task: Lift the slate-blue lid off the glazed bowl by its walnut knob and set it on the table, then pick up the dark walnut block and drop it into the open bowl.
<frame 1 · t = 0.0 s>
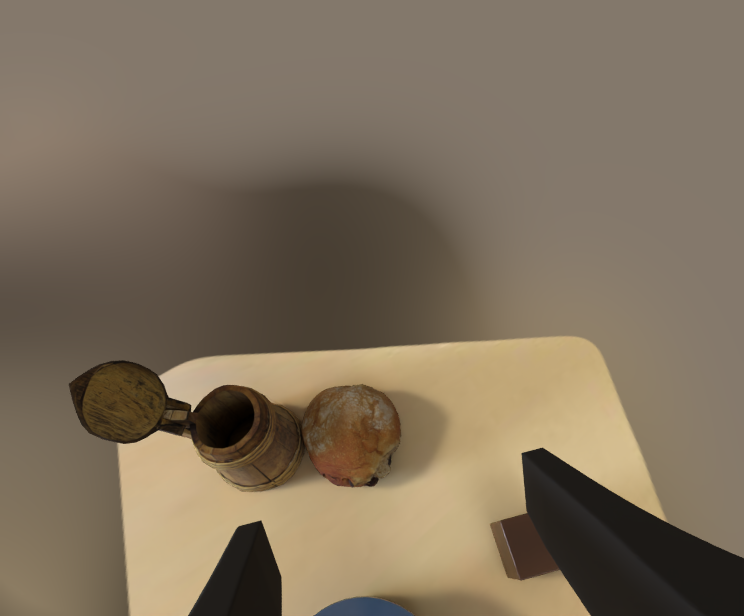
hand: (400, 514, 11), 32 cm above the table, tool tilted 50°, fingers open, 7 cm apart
block: (521, 543, 38), on the table
wooden mug: (242, 446, 44), on the table
bread roll: (354, 438, 44), on the table
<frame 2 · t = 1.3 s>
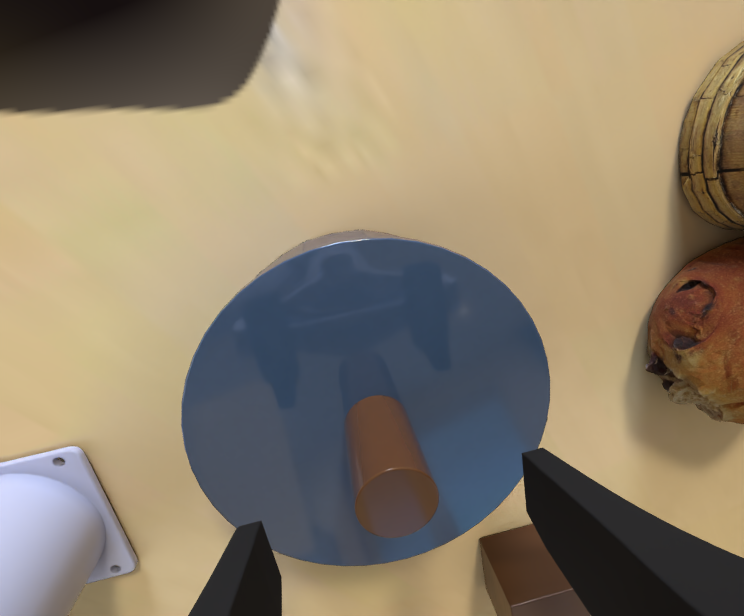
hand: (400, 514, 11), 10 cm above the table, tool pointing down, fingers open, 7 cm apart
block: (515, 554, 27), on the table
bread roll: (714, 321, 24), on the table
bowl lid: (374, 416, 16), point 5 cm above the table, touching bowl
bowl: (358, 356, 21), on the table
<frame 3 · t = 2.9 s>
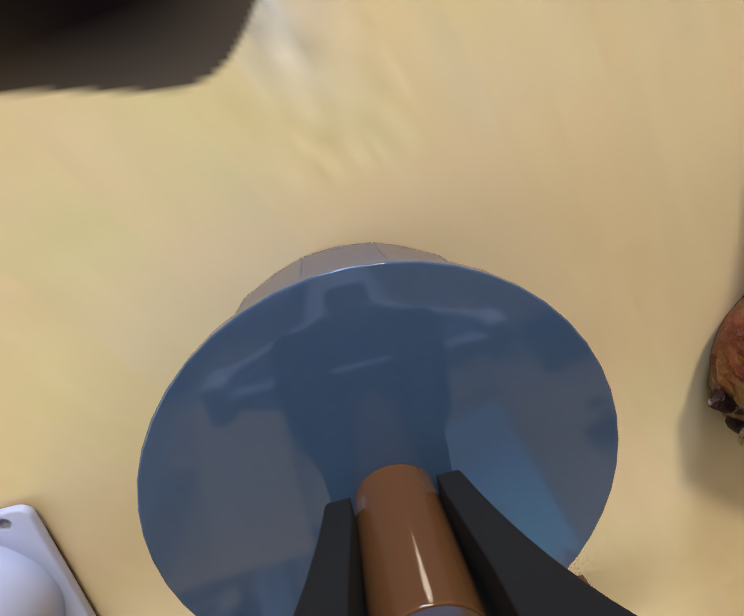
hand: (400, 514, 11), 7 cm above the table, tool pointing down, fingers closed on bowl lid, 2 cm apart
bowl lid: (392, 486, 12), point 5 cm above the table, touching bowl, gripper
bowl: (368, 393, 17), on the table
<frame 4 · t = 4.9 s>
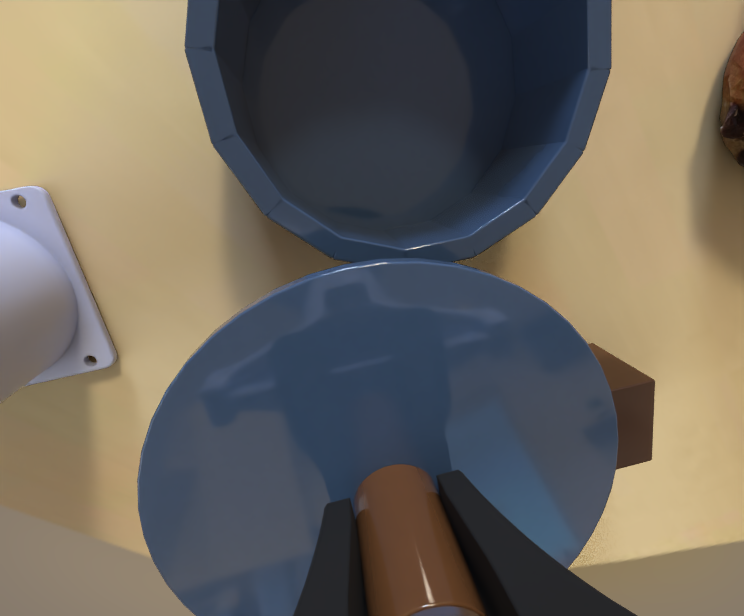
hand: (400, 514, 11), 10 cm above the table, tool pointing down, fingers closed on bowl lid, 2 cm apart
block: (556, 386, 23), on the table
bowl lid: (392, 486, 12), point 9 cm above the table, touching gripper
bowl: (382, 93, 17), on the table
when the fingers open (2 cm above the table, at t = 7.3 s): bowl lid stays where it is, point 1 cm above the table.
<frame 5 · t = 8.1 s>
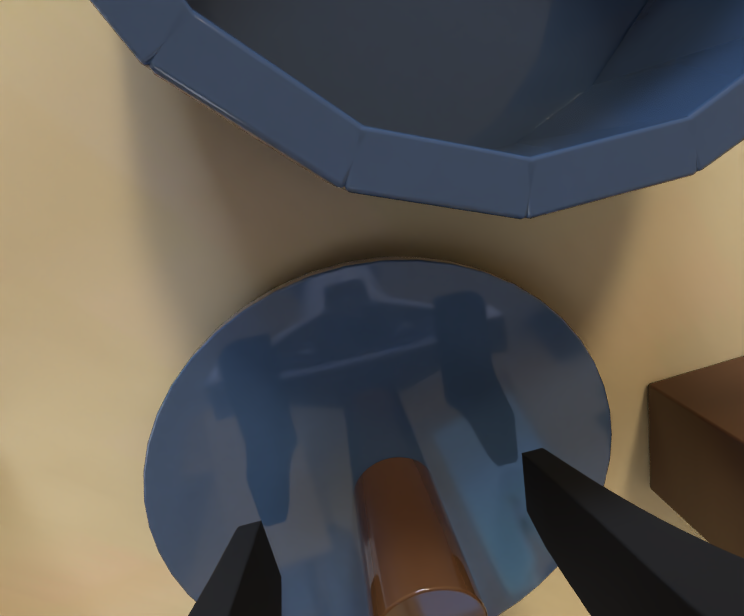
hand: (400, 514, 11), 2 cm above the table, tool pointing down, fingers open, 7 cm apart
block: (707, 420, 14), on the table
bowl lid: (391, 479, 13), point 1 cm above the table
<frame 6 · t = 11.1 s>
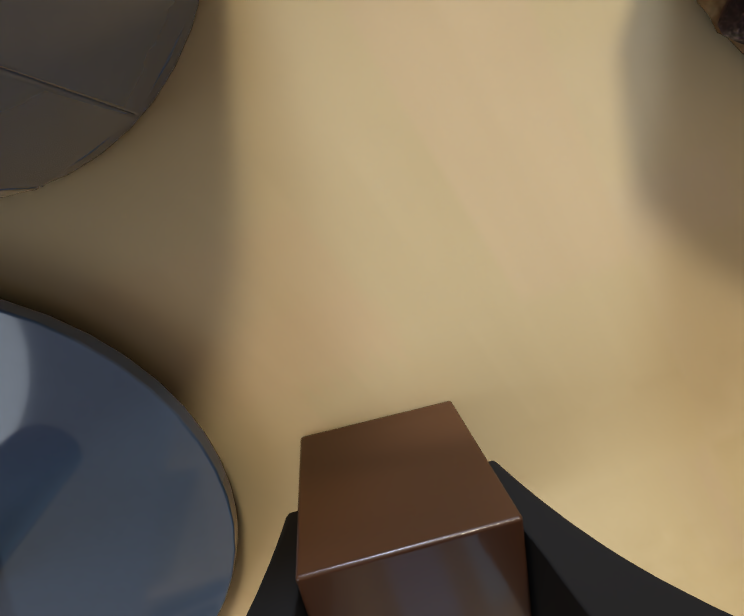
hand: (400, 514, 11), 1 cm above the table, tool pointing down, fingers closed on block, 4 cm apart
block: (389, 479, 13), on the table, touching gripper
when the fingers open (4 cm above the table, at t = 15.8 s): block drops 2 cm, resting on bowl.
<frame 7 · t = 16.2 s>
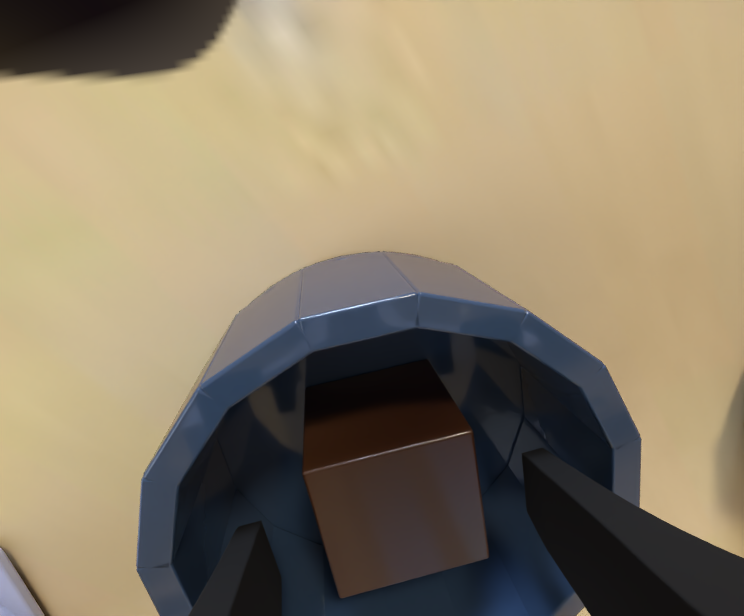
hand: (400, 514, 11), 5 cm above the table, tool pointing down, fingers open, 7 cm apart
block: (378, 425, 15), resting on bowl
bowl: (376, 418, 16), on the table
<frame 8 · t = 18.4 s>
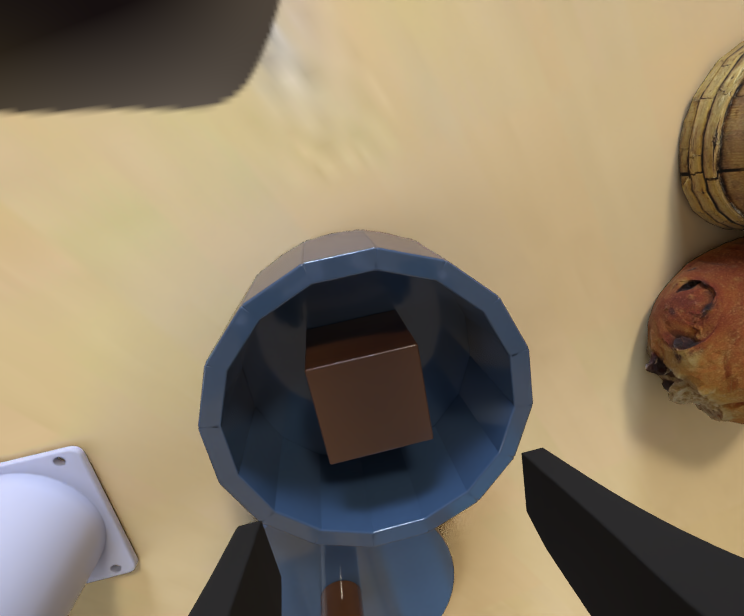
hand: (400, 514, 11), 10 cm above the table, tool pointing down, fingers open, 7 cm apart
block: (360, 360, 21), resting on bowl
bread roll: (714, 321, 24), on the table
bowl lid: (340, 587, 25), point 1 cm above the table
bowl: (358, 356, 21), on the table
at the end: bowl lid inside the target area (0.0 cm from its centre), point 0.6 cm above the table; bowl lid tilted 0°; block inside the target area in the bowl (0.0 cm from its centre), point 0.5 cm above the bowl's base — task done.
